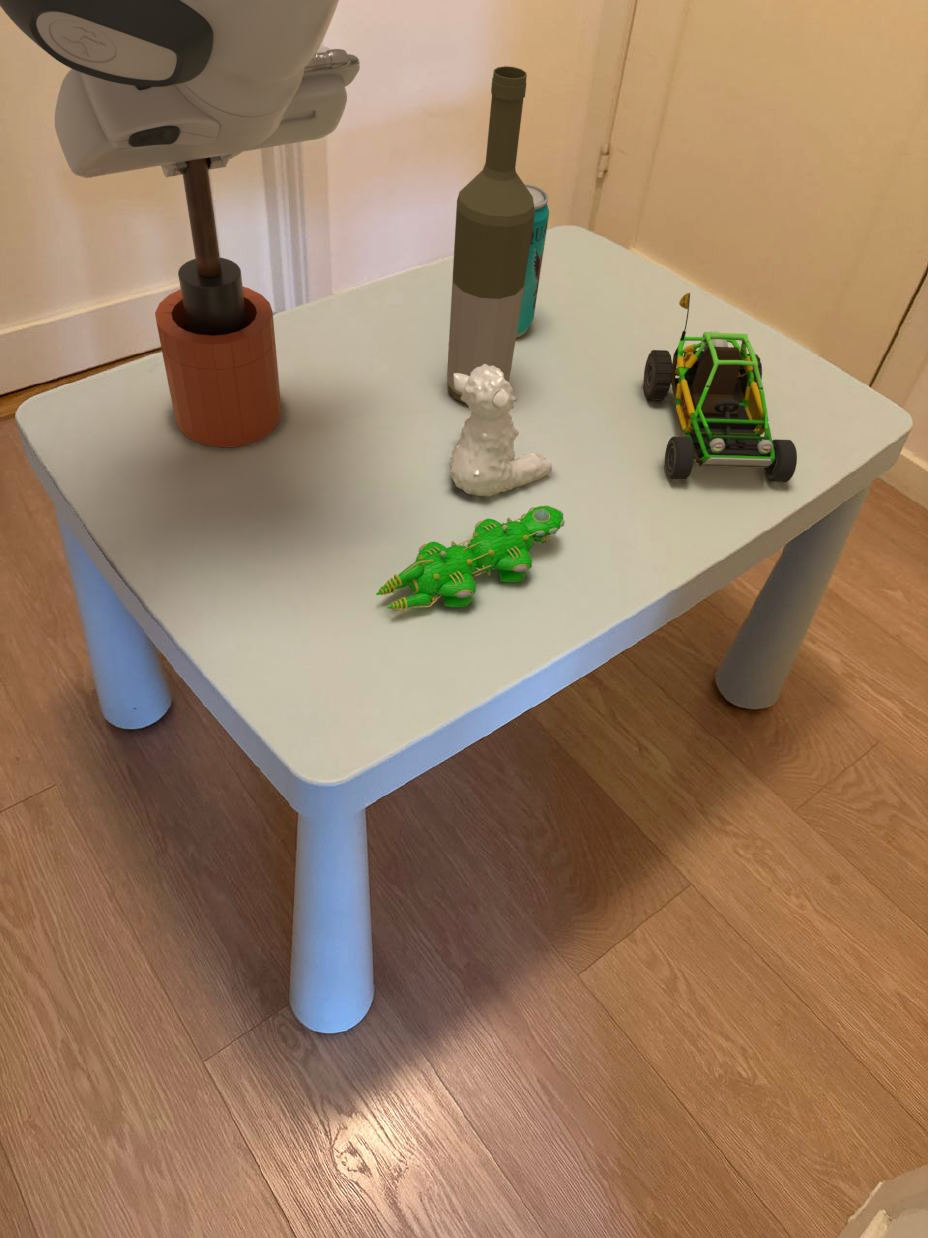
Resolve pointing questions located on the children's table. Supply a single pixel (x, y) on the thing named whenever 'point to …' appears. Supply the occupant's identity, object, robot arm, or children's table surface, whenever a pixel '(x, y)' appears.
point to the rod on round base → (208, 265)
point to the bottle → (491, 243)
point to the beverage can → (534, 258)
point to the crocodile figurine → (474, 559)
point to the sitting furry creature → (490, 438)
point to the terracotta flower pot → (222, 375)
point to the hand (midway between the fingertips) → (191, 162)
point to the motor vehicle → (717, 406)
